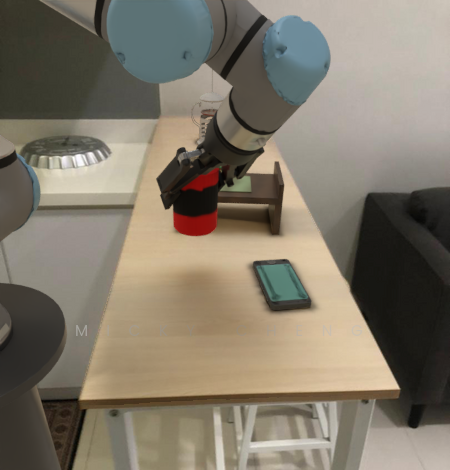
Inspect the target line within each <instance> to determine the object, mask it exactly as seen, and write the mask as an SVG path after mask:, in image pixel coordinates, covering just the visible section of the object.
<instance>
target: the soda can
mask: <svg viewBox="0 0 450 470" xmlns="http://www.w3.org/2000/svg"><path fill="white" fill-rule="evenodd" d="M218 177H219V168H215V169H214V170H212V171H211V172H209V173H208V174H207V175H200V176H198V177H197V178H196V179H194V180H193V181H192V182H190V183H189V184H188V185H186V186H185V187H183V188H182V189H181V190H180V192H181V194H180V195H179V196H178V198H177V199H176V200H175V202H174V203H173V205H172V218H173V220H172V222H173V223H172V224H173V228H174V229H175V230H176V231H177V233H179V234H181V235H184V236H188V237H202V236H208V235H210V234H212V233H213V232H215V230H216V229H217V228H218V208H219V207H218V206H219V205H218V204H219V203H218Z"/></svg>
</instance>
